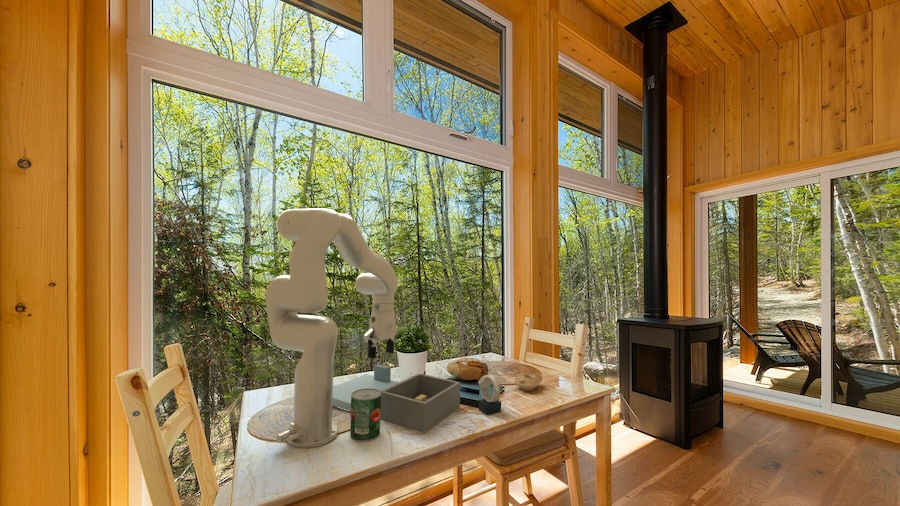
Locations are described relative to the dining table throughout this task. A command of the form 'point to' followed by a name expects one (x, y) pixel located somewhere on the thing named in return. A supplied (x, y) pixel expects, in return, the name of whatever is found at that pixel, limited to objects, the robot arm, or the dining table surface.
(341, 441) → the dining table surface
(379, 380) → the lid
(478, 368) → the bread loaf
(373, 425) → the canned tomato
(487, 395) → the stone ring on base
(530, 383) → the pottery oil lamp
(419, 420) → the tub
